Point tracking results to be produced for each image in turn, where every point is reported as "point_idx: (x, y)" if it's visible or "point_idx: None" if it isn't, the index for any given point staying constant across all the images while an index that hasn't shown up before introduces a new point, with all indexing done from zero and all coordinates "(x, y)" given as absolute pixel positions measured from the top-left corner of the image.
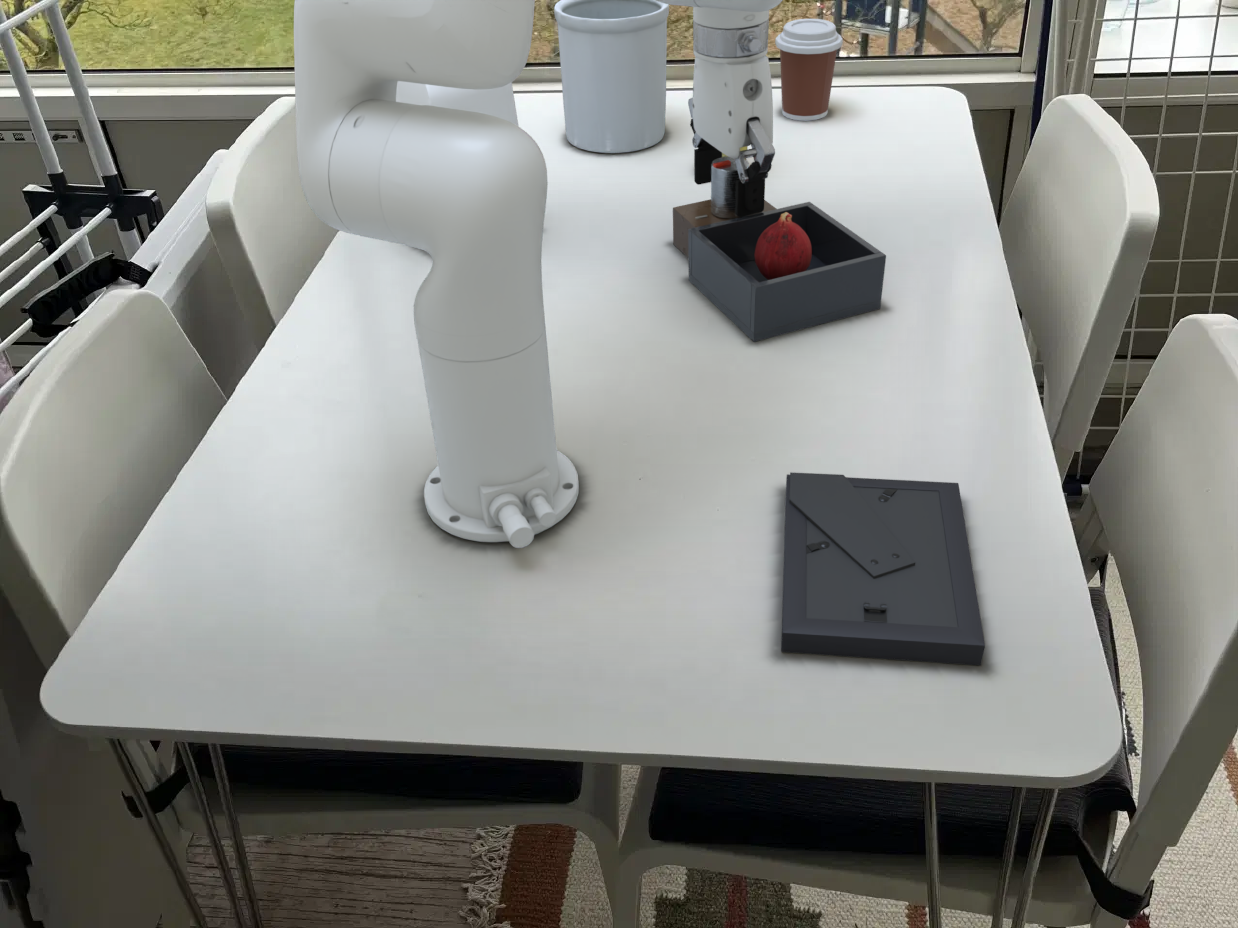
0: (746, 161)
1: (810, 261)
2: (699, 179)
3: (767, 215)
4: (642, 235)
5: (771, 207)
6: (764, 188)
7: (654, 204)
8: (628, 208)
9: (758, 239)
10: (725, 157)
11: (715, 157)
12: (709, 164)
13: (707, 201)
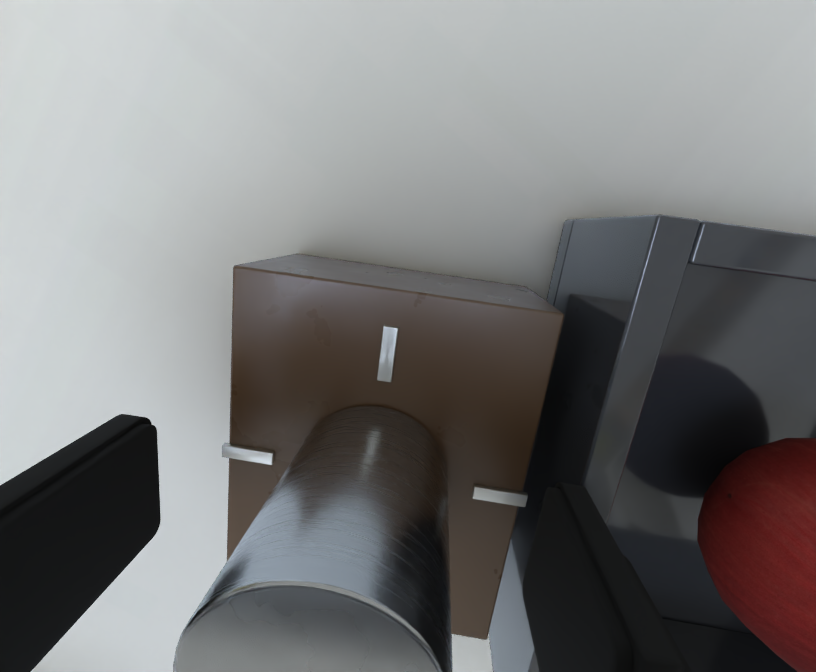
0: (347, 606)
1: (687, 299)
2: (143, 540)
3: (618, 484)
4: (190, 525)
5: (445, 312)
6: (635, 580)
7: (16, 394)
8: (15, 463)
9: (794, 666)
10: (190, 664)
11: (47, 537)
12: (83, 543)
13: (241, 478)
